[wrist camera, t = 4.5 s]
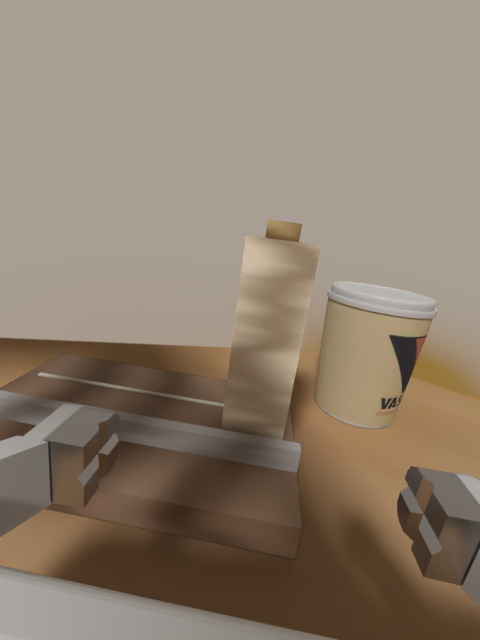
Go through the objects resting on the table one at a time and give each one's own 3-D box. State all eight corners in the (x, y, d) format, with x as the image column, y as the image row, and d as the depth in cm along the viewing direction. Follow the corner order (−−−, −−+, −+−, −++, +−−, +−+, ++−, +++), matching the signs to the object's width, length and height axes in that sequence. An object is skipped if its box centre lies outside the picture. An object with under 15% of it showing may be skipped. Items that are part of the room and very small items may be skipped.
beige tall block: (219, 440, 20) (248, 216, 16) (229, 402, 25) (254, 220, 21) (280, 451, 20) (324, 225, 16) (279, 410, 24) (313, 228, 21)
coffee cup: (392, 450, 25) (436, 309, 22) (290, 404, 30) (314, 283, 27) (408, 407, 33) (443, 297, 29) (324, 376, 38) (346, 278, 34)
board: (-103, 478, 17) (-115, 424, 16) (63, 372, 30) (62, 338, 30) (294, 558, 16) (308, 504, 15) (284, 409, 29) (291, 376, 28)
